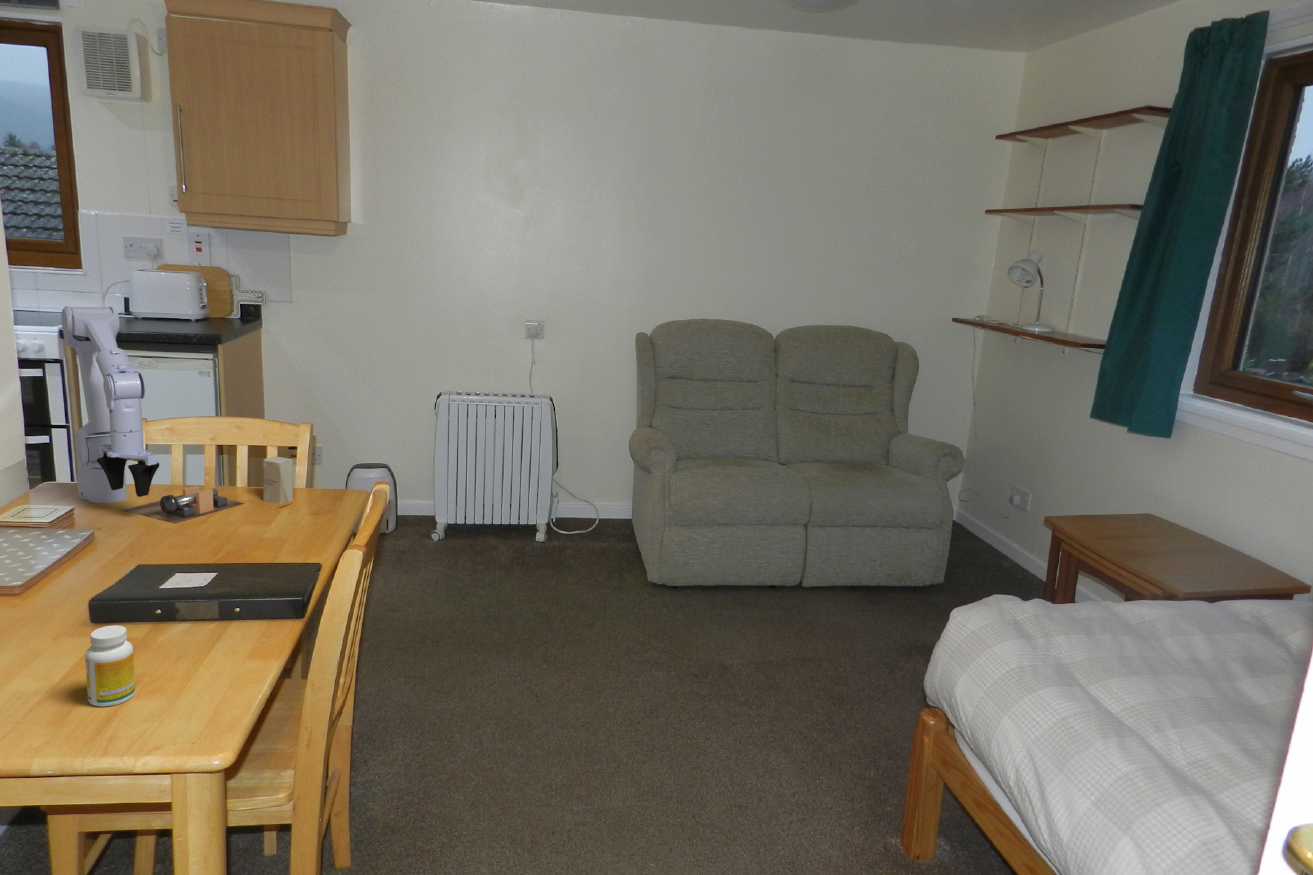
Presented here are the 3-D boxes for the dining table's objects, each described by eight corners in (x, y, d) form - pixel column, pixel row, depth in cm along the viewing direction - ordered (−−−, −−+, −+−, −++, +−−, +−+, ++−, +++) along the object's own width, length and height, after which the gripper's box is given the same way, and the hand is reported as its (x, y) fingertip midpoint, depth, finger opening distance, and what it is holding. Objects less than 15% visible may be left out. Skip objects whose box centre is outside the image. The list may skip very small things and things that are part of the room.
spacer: (183, 509, 186) (182, 488, 185) (197, 505, 189) (196, 485, 188) (199, 513, 184) (199, 492, 183) (213, 509, 187) (212, 489, 186)
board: (122, 514, 182) (122, 510, 182) (194, 495, 199) (194, 491, 199) (175, 527, 177) (175, 523, 177) (245, 507, 193) (244, 503, 193)
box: (262, 504, 196) (261, 459, 194) (275, 500, 200) (275, 455, 198) (281, 508, 195) (280, 462, 192) (294, 503, 199) (293, 458, 196)
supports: (168, 513, 182) (167, 505, 182) (211, 502, 192) (210, 494, 192) (184, 518, 180) (184, 509, 180) (227, 505, 190) (227, 497, 190)
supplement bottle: (78, 702, 111) (73, 635, 109) (114, 684, 116) (110, 619, 114) (110, 711, 109) (105, 643, 107) (145, 692, 114) (141, 627, 112)
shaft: (160, 512, 180) (159, 494, 179) (209, 499, 191) (208, 482, 190) (173, 515, 178) (173, 497, 178) (222, 502, 190) (221, 485, 189)
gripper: (83, 427, 172) (87, 490, 175) (133, 438, 167) (136, 503, 170) (116, 422, 179) (119, 483, 182) (165, 432, 174) (167, 495, 177)
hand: (129, 492), depth 177 cm, fingers open, 7 cm apart
